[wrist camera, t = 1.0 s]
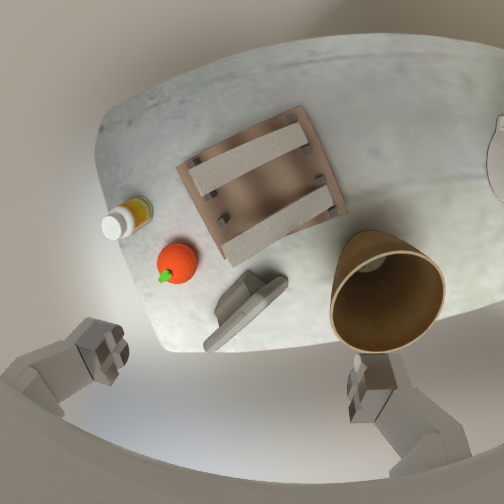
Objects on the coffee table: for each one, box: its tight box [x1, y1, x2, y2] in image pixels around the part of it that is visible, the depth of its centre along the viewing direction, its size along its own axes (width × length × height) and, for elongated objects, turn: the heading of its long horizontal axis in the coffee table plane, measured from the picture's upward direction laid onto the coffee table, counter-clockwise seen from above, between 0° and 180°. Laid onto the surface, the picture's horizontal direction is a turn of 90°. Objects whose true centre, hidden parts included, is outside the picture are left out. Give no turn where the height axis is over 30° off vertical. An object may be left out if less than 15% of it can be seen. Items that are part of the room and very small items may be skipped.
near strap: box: [188, 122, 309, 196], centre depth 30 cm, size 16×3×1 cm
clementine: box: [157, 243, 197, 284], centre depth 46 cm, size 8×7×7 cm
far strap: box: [219, 184, 335, 268], centre depth 34 cm, size 16×3×1 cm
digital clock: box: [203, 270, 288, 353], centre depth 46 cm, size 16×9×11 cm, turn 131°
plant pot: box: [330, 231, 445, 353], centre depth 36 cm, size 15×15×16 cm
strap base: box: [176, 105, 348, 259], centre depth 38 cm, size 20×16×7 cm
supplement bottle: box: [101, 197, 153, 240], centre depth 43 cm, size 5×5×10 cm
